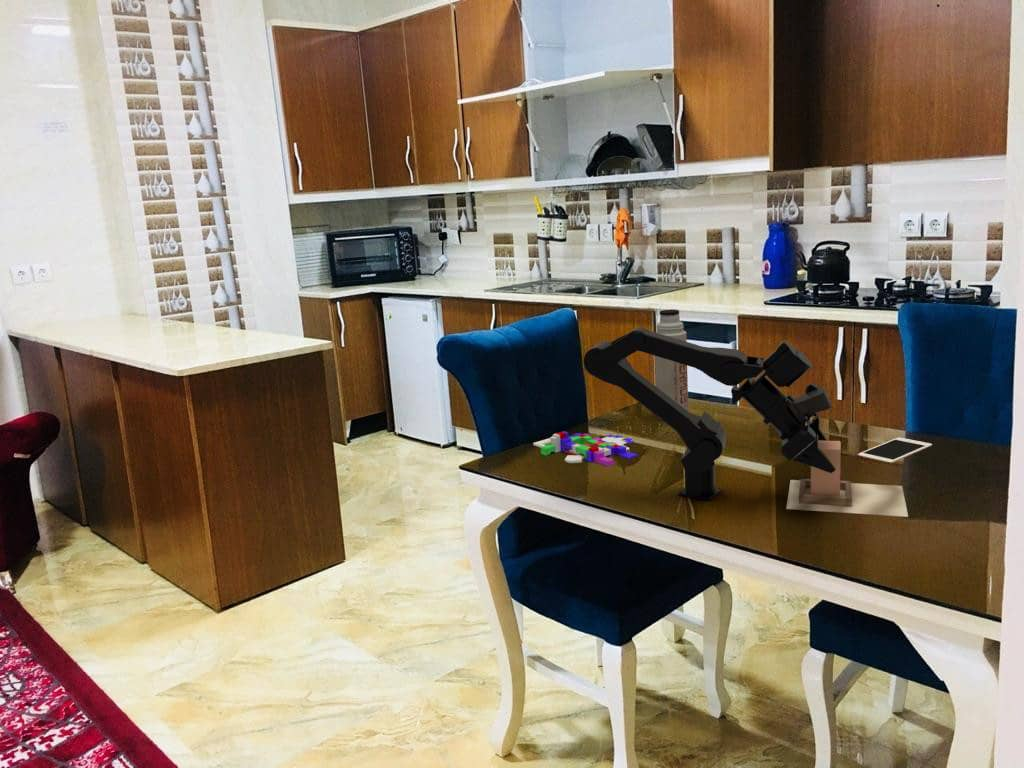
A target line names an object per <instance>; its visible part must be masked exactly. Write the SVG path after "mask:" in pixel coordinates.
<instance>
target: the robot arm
mask: <svg viewBox="0 0 1024 768" xmlns="http://www.w3.org/2000/svg"><path fill="white" fill-rule="evenodd" d="M636 352H641V353H645V354H649V355H652V356H654V357H655V356H658V357H661V358H664V359H668V360H671V361H674V362H677V363H681V364H684V365H687V367H691V368H694V369H696V370H699V371H700V372H702V373H704V374H705V375H706V376H708V377H709V378H711V379H713V380H715V381H717V382H718V383H721V384H723V385H725V386H726V387H727V386H728V387H732V388H731V389H730V392H731V404H732V405H736V404H737V403H738V402H739V401H740V400H742V399H743V400H744V401H745V402H746V404H748V405H749V406H750V407H751V408H752V409H753V410H755V411H756V412H757V414H759V415H760V416H761V417H762V418H763V419H762V422H763V423H764V424H765V425H770V426H771V427H773V429H775V431H776V432H777V433H779V436H778V437H779V438H780V439H781V440H782V442H781V455H782V456H783V457H785V459H786V460H788V462H790V461H793V462H797V463H801V464H803V465H806V466H809V467H811V466H812V467H815V468H818V469H821V470H823V471H826V472H829V473H833V472H834V471H835V467H834V466H833V465H832V463H831V462H830V461H829V459H828V458H827V457H826V455H825V454H824V453H823V452H822V450H821V449H820V448H819V446H818V440H821V441H829V440H828V439H827V437H826V435H825V434H824V433H823V431H822V429H821V428H820V414H819V412H822V411H823V412H825V411H827V410H830V409H831V408H832V401H831V399H830V396H829V395H828V392H827V390H826V389H825V387H824V386H822V385H821V386H820V387H819V386H818V385H817V384H815V383H814V382H813V383H809V384H807V385H806V386H805V390H804V391H805V393H802V394H801V395H800V396H798V397H793V395H791V393H790V394H788V393H786V394H784V393H783V391H781V390H780V389H779V388H784V387H787V388H790V387H791V386H792V385H794V383H796V382H797V380H799V379H801V378H802V376H804V375H805V374H806V373H807V372H808V371H809V370H810V369H811V368H812V367H813V364H812V362H811V361H810V359H809V358H808V357H807V356H806V355H805V354H804V353H803V352H802V351H801V349H797V348H796V347H794V346H793V345H791V344H789V343H788V342H787V341H786V340H782V342H781V343H779V344H778V346H777V347H776V349H775V350H774V351H772V352H771V353H770V354H769V355H768V356H767V357H761V356H760V357H759V356H754V355H753V356H752V355H747V353H745V351H742V350H740V349H735V348H727V347H708V346H701V345H698V344H696V343H691V342H688V341H687V342H685V341H682V340H679V339H675V338H672V337H669V336H665V335H662V334H659V333H655V331H651V330H648V329H647V328H645V327H641V326H639V327H635V328H633V329H632V330H631V331H630V332H628V333H625V334H624V335H621V336H620V337H618V338H616V339H614V340H612V341H600V342H598V343H597V344H595V345H594V346H593V347H590V349H588V350H587V352H585V354H584V357H583V366H584V367H583V368H584V369H585V371H586V372H587V373H588V374H589V375H591V376H593V377H594V378H596V379H598V380H600V381H601V382H604V383H607V384H610V385H613V386H616V387H618V388H620V389H621V390H622V391H624V392H625V393H626V394H628V395H629V396H630V397H632V398H633V399H634V400H636V401H637V402H638V403H640V404H641V405H642V406H643V407H645V409H647V410H648V411H649V412H651V413H652V414H653V415H655V416H656V418H657V417H659V418H660V419H661V420H660V421H663V422H664V423H665V424H666V425H667V426H669V427H670V428H671V429H673V431H675V432H676V433H677V434H678V436H679V437H680V439H681V440H682V442H683V443H684V445H685V446H686V450H685V451H684V453H683V455H682V457H681V459H680V463H681V465H682V468H683V470H684V481H685V482H684V488H683V489H681V490H679V491H678V493H677V494H678V496H682V497H687V498H692V499H698V500H701V501H702V500H703V501H710V500H711V499H712V498H714V497H716V495H718V494H719V493H720V492H722V491H723V488H722V487H720V486H716V473H715V472H716V469H715V463H716V462H715V460H716V461H717V459H719V458H720V457H721V455H722V453H723V452H724V449H725V446H726V443H727V433H726V430H724V428H723V427H722V422H719V421H717V420H715V419H714V418H712V416H711V415H710V414H709V413H708V412H707V411H704V412H703V413H702V415H701V416H700V415H696V414H694V413H692V412H689V410H688V411H687V410H686V409H684V408H683V407H682V406H680V405H679V404H678V403H677V402H675V401H674V400H673V399H671V398H670V397H669V396H668V395H666V394H665V393H664V392H662V391H661V390H660V389H658V388H657V387H656V384H653V383H652V382H651V381H649V380H648V379H647V378H645V376H643V375H642V374H641V373H639V372H638V371H637V370H635V369H634V367H633V365H632V364H631V363H630V362H629V360H628V358H627V357H629V356H631V355H632V354H634V353H636ZM754 378H755V379H754ZM744 380H745V381H744ZM742 382H743V383H742ZM741 383H742V384H741ZM739 384H741V385H740V386H737V385H739ZM735 386H737V387H735ZM812 416H813V418H812Z"/></svg>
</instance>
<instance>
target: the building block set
mask: <svg viewBox="0 0 1024 768" xmlns="http://www.w3.org/2000/svg"><path fill="white" fill-rule="evenodd" d="M631 440H632V441H631ZM633 442H634V443H635V441H633V439H632V438H628V437H626V438H623V436H621V435H614V434H607V435H605V437H603V438H600V437H594V438H593V437H592V436H591V435H590V434H587V433H580V432H577V433H574V434H573V433H572V435H569V432H568V431H565V430H564V431H560V432H555V433H554V434H552V436H551V437H549V438H546V439H542V440H539V441H536V442H535V441H534V442H533V446H535V447H538V448H540V455H543V456H549V455H551V453H555V454H556V453H559V452H564V453H567V454H568V455H567V456H566V457H565V458H564V462H566V463H568V464H577V463H583V460H586V462H588V463H591V464H592V463H597V464H599V465H603V466H606V467H611V466H614V465H615V462H614V461H615V459H612V458H609V457H611V456H615V455H616V454H618V455H617V456H621V457H620V458H623V457H624V458H623V459H626V458H628V459H627V460H629V459H630V460H632V459H631V458H633V457H636V456H638V457H639V454H637V453H634V452H631V451H630V447H628V446H626V445H624V444H626V443H627V444H631V443H633ZM627 450H629V451H627ZM626 451H627V452H626ZM614 454H615V455H614ZM607 456H609V457H607ZM636 458H637V457H636ZM633 459H634V458H633Z"/></svg>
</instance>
